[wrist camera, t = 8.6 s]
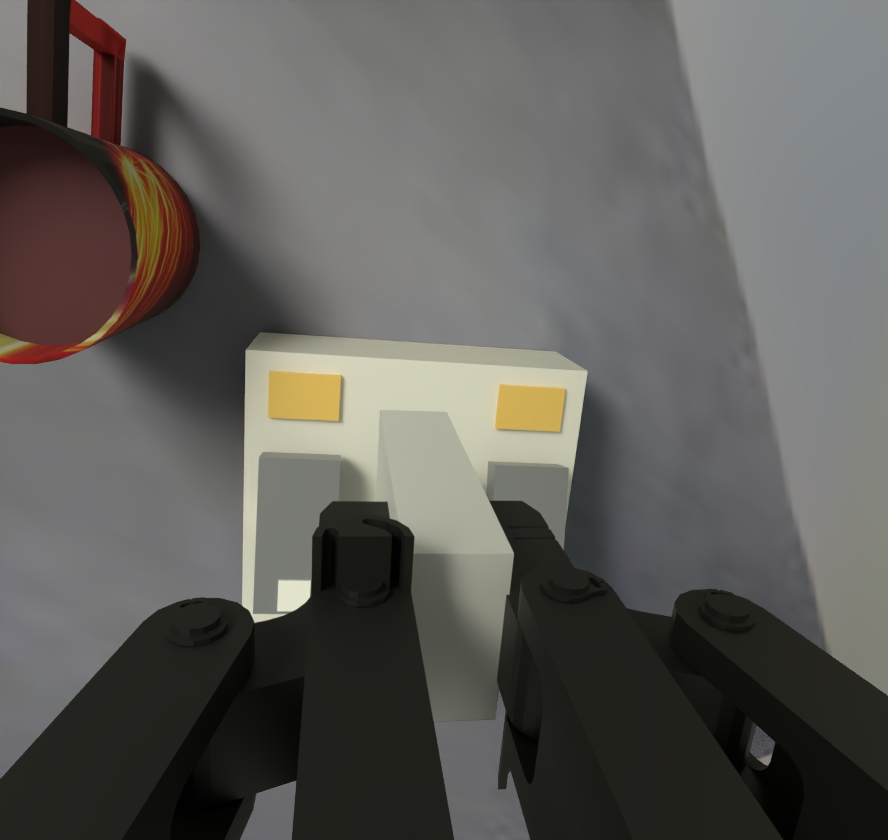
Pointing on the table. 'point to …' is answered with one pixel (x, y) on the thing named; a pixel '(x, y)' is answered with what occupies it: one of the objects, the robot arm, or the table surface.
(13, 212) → the mug
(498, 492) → the block
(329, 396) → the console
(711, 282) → the table surface
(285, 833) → the table surface
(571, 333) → the table surface
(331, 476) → the block
